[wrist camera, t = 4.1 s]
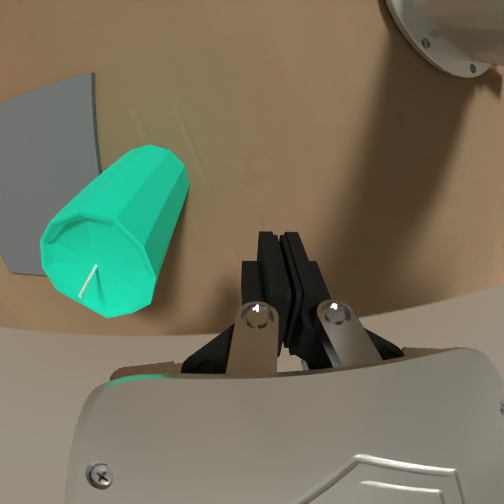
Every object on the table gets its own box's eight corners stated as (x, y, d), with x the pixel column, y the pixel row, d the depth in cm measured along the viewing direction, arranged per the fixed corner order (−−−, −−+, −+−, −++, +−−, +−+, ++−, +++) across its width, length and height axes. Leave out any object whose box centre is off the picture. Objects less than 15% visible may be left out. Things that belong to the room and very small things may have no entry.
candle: (101, 169, 18) (4, 265, 8) (165, 129, 17) (80, 202, 7) (140, 230, 21) (85, 351, 12) (203, 199, 20) (178, 326, 11)
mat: (94, 72, 14) (91, 72, 13) (123, 276, 24) (121, 280, 24) (-29, 119, 13) (-32, 120, 12) (11, 269, 23) (9, 272, 22)
